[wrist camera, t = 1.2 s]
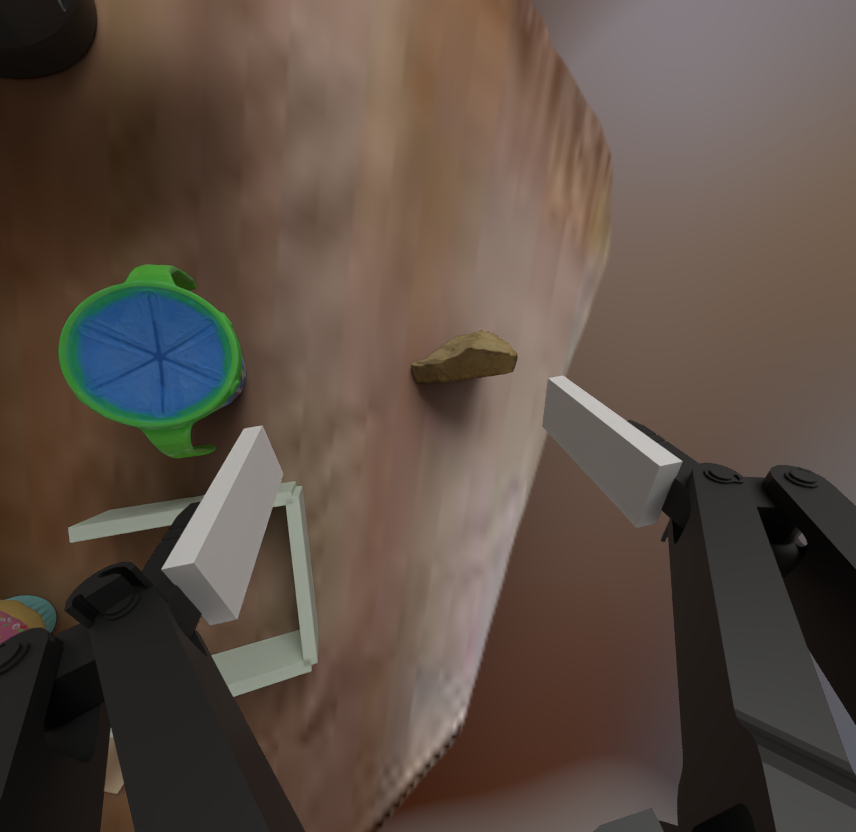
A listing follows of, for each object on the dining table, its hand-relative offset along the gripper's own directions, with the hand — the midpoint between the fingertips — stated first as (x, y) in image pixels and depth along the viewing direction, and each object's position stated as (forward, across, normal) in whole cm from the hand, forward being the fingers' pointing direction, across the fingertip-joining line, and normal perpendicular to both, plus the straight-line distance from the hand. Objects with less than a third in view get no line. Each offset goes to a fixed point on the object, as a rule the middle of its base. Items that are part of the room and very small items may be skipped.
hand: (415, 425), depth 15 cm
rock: (+25, +7, -7) cm, 27 cm away
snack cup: (+21, -19, -3) cm, 28 cm away
